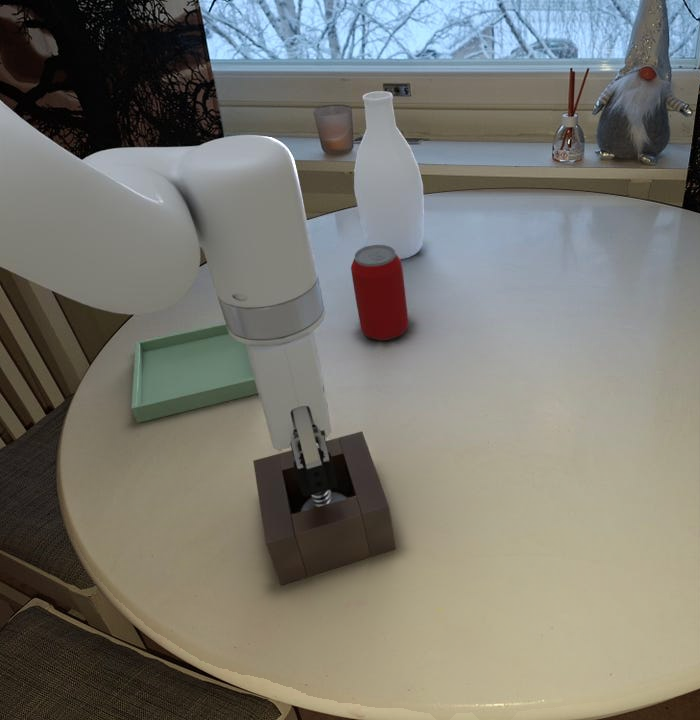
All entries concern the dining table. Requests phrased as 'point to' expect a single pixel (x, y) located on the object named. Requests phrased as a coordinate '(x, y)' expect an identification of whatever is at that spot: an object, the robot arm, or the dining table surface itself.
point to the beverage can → (380, 292)
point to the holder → (323, 513)
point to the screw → (322, 498)
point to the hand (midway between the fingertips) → (314, 469)
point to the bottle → (388, 181)
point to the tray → (189, 372)
